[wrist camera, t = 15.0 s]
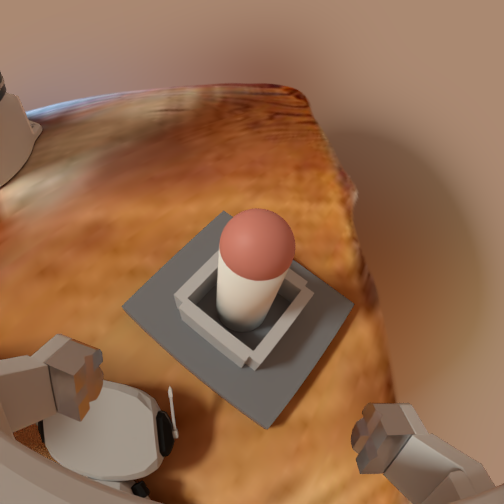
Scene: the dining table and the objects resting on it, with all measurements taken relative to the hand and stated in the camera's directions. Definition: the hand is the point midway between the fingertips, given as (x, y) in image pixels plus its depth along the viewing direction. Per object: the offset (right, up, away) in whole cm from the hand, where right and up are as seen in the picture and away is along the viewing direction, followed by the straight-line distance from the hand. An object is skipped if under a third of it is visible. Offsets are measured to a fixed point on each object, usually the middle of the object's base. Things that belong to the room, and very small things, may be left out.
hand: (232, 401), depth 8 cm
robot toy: (-11, -14, +11) cm, 21 cm away
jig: (0, -1, +20) cm, 20 cm away
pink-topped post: (0, -1, +18) cm, 19 cm away
